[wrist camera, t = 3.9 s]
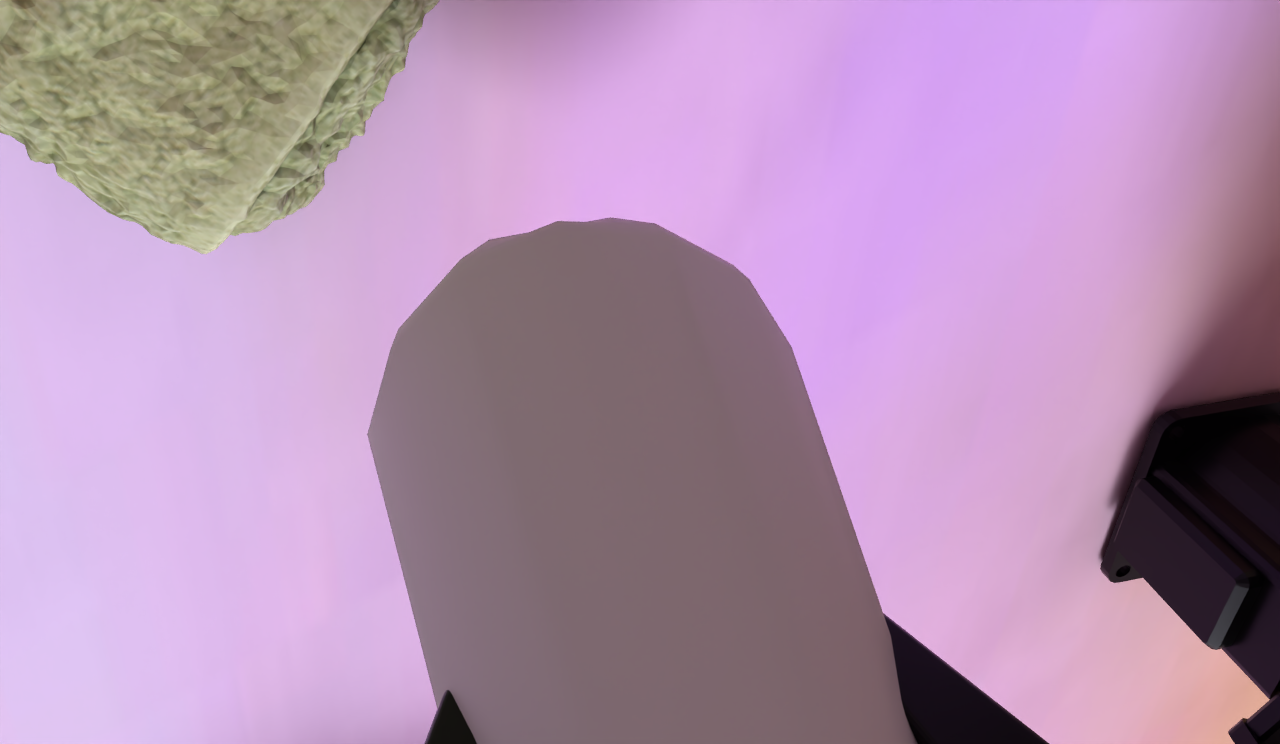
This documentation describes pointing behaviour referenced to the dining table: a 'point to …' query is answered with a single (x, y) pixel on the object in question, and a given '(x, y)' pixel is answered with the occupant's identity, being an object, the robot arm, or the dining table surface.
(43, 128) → the washcloth
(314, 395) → the dining table surface
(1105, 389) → the dining table surface
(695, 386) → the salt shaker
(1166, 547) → the robot arm
